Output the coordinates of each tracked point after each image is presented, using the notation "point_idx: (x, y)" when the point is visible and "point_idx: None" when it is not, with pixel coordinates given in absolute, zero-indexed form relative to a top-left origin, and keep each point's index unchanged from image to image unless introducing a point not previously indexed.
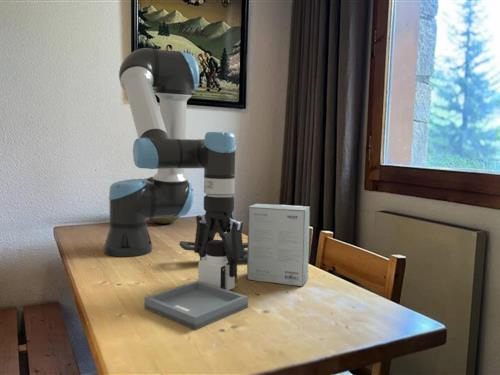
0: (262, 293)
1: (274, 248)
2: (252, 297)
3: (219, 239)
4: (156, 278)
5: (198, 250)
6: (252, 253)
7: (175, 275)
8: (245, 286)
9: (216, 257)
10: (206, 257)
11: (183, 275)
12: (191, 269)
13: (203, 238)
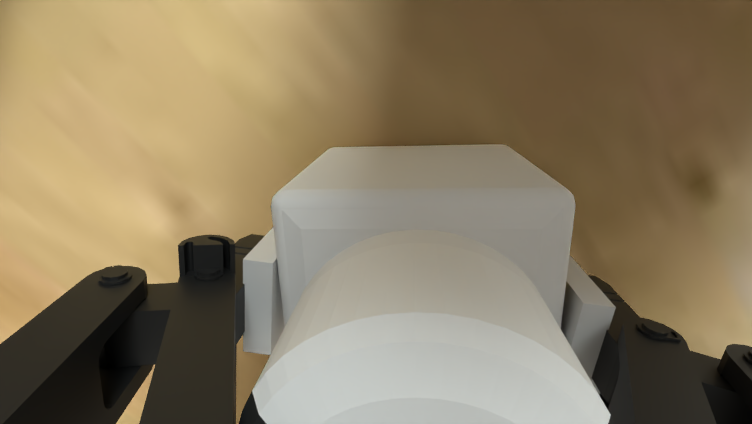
0: (725, 152)
1: None
2: (688, 247)
3: (343, 412)
4: (51, 299)
5: (148, 359)
6: None
7: (68, 200)
8: (557, 103)
9: None
10: (272, 320)
11: (98, 171)
12: (20, 29)
13: (50, 420)
